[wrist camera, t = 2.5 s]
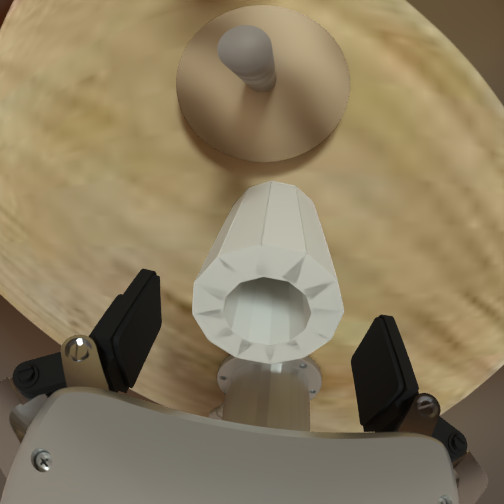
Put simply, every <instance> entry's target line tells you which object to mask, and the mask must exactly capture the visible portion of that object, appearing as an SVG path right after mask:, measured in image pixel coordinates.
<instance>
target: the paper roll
mask: <svg viewBox="0 0 504 504" xmlns="http://www.w3.org/2000/svg"><path fill="white" fill-rule="evenodd" d="M192 313H193V316H194V318H195V319H196V321H197V323H198V324H199V326H200V328H201V329H202V331H203V333H204V334H205V336H206V337H207V339H208V340H209V341H210V342H212V343H213V344H215V345H217V346H218V347H220V348H221V349H223V350H225V351H226V352H228V353H229V354H231V355H233V356H234V357H237V358H240V359H245V360H251V361H256V362H262V363H268V364H270V363H271V364H273V363H279V362H284V361H290V360H295V359H300V358H303V357H306V356H307V355H309V354H310V353H312V352H313V351H315V350H316V349H318V348H319V347H321V346H322V345H324V344H325V343H327V342H328V341H330V339H331V338H332V336H333V334H334V332H335V330H336V328H337V326H338V324H339V322H340V320H341V318H342V316H343V314H344V308H343V303H342V298H341V294H340V289H339V285H338V280H337V277H336V273H335V270H334V266H333V263H332V259H331V256H330V253H329V249H328V246H327V243H326V240H325V236H324V233H323V230H322V227H321V224H320V221H319V218H318V215H317V212H316V209H315V206H314V203H313V201H312V200H311V199H310V198H309V197H308V196H307V195H305V194H304V193H303V192H302V191H301V190H300V189H299V188H298V187H297V186H295V185H290V184H286V183H281V182H276V181H272V182H271V181H268V182H265V183H262V184H259V185H256V186H253V187H250V188H248V189H247V190H246V191H245V192H244V193H243V195H242V196H241V197H240V198H239V199H238V200H237V201H236V203H235V204H234V205H233V207H232V209H231V211H230V213H229V214H228V216H227V218H226V220H225V222H224V224H223V226H222V228H221V230H220V232H219V234H218V236H217V238H216V240H215V242H214V244H213V246H212V248H211V250H210V252H209V254H208V256H207V258H206V260H205V262H204V264H203V266H202V268H201V270H200V272H199V274H198V276H197V278H196V280H195V282H194V289H193V305H192Z"/></svg>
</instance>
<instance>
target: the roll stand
mask: <svg viewBox="0 0 504 504" xmlns="http://www.w3.org/2000/svg"><path fill="white" fill-rule="evenodd" d="M176 89H177V96H178V101H179V104H180V108H181V111H182V113H183V115H184V117H185V119H186V121H187V122H188V124H189V125H190V127H191V128H192V129H193V130H194V131H195V133H196V134H197V135H198V136H199V137H200V138H201V139H202V140H204V141H205V142H206V143H207V144H209V145H210V146H211V147H213V148H214V149H216V150H218V151H220V152H222V153H224V154H226V155H229V156H231V157H234V158H238V159H242V160H246V161H254V162H273V161H281V160H285V159H289V158H293V157H295V156H298V155H301V154H303V153H305V152H307V151H309V150H311V149H312V148H314V147H315V146H317V145H318V144H320V143H321V142H322V141H323V140H324V139H325V138H327V137H328V136H329V135H330V133H331V132H332V131H333V130H334V129H335V128H336V126H337V124H338V123H339V121H340V120H341V118H342V116H343V114H344V111H345V109H346V106H347V103H348V99H349V92H350V76H349V70H348V65H347V62H346V59H345V57H344V54H343V52H342V50H341V48H340V47H339V45H338V44H337V42H336V41H335V39H334V38H333V37H332V36H331V35H330V33H329V32H328V31H327V30H326V29H325V28H323V27H322V26H321V25H320V24H319V23H317V22H316V21H314V20H313V19H311V18H310V17H308V16H306V15H304V14H302V13H300V12H297V11H294V10H291V9H288V8H284V7H279V6H271V5H253V6H247V7H241V8H238V9H234V10H231V11H229V12H226V13H224V14H222V15H220V16H218V17H216V18H214V19H213V20H211V21H210V22H209V23H207V24H206V25H205V26H203V27H202V28H201V29H200V30H199V31H198V32H197V33H196V34H195V35H194V37H193V38H192V39H191V40H190V42H189V43H188V45H187V47H186V48H185V50H184V52H183V54H182V57H181V59H180V62H179V66H178V70H177V78H176Z"/></svg>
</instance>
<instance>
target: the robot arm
mask: <svg viewBox="0 0 504 504" xmlns="http://www.w3.org/2000/svg"><path fill="white" fill-rule="evenodd" d="M161 323H162V319H161V299H160V277H159V276H157V275H156V272H155V271H151V270H147V269H142V270H141V271H140V272H139V273H138V275H137V276H136V277H135V279H134V280H133V281H132V283H131V284H130V286H129V287H128V288H127V290H126V291H125V292H124V294H123V295H122V294H119V295H118V296H117V297H116V298H115V300H114V301H113V302H112V304H111V305H110V307H109V308H108V309H107V311H106V312H105V314H104V315H103V316H102V318H101V319H100V321H99V322H98V324H97V325H96V326H95V328H94V329H93V331H92V332H91V334H90V335H89V337H88V336H85V335H74V336H72V337H69V338H68V339H67V340H65V342H64V343H63V344H62V347H61V352H58V353H55V354H51V355H47V356H44V357H40V358H36V359H33V360H29V361H25V362H23V363H21V364H19V365H18V366H17V367H16V369H15V370H14V373H13V377H12V378H10V379H9V378H8V377H6V378H5V379H3V380H1V381H0V468H1V470H2V472H3V473H4V475H5V477H6V479H7V481H6V484H5V488H4V491H3V495H2V499H1V502H0V504H475V502H476V501H477V500H478V499H479V497H480V496H481V494H482V493H483V491H484V490H485V489H486V487H487V484H488V477H487V475H486V473H485V472H484V470H483V469H482V467H481V466H480V465H479V463H478V462H477V460H476V459H475V458H474V456H473V455H472V453H471V452H470V451H468V452H466V450H467V441H466V439H465V437H464V435H463V434H462V433H461V432H459V431H458V430H457V429H455V428H454V427H453V426H451V425H450V424H449V423H448V422H446V421H445V420H443V419H442V418H441V417H440V416H439V415H440V411H441V410H440V405H439V402H438V401H437V399H436V398H435V397H434V396H432V395H430V394H428V393H420V394H419V392H418V390H419V387H418V384H417V381H416V378H415V375H414V372H413V369H412V366H411V363H410V360H409V357H408V354H407V351H406V349H405V346H404V343H403V340H402V338H401V335H400V333H399V330H398V327H397V325H396V322H395V320H394V318H393V317H392V316H387V315H380V316H379V317H376V318H375V319H374V321H373V323H372V325H371V326H370V328H369V330H368V331H367V333H366V335H365V337H364V338H363V340H362V342H361V343H360V345H359V347H358V348H357V350H356V351H355V353H354V355H353V356H352V359H351V366H352V372H353V378H354V384H355V390H356V397H357V404H358V411H359V418H360V424H361V425H362V426H363V428H364V432H372V433H332V432H310V400H311V399H312V398H314V397H315V396H316V395H317V393H318V392H319V391H320V388H321V386H322V377H321V371H320V369H319V367H318V365H317V364H316V363H315V362H314V361H313V360H312V359H310V358H309V357H308V356H306V357H303V358H300V359H295V360H290V361H284V362H279V363H273V364H271V363H270V364H268V363H262V362H256V361H251V360H245V359H240V358H237V357H234V356H233V355H230V356H228V357H227V358H226V359H225V360H224V361H223V362H222V363H221V365H220V367H219V370H218V374H217V382H218V386H219V387H220V389H221V391H222V392H223V393H224V394H225V395H226V396H225V400H224V402H222V404H221V406H219V407H217V408H215V409H213V410H211V411H210V412H209V418H208V417H204V416H199V415H195V414H191V413H187V412H183V411H179V410H175V409H171V408H168V407H164V406H160V405H157V404H153V403H149V402H147V401H143V400H140V399H137V398H134V397H130V396H127V395H123V394H120V393H118V391H121V392H124V393H127V390H128V388H129V387H130V388H133V386H134V384H135V382H136V380H137V378H138V375H139V373H140V371H141V369H142V367H143V364H144V362H145V360H146V358H147V356H148V354H149V351H150V349H151V347H152V345H153V343H154V341H155V339H156V337H157V335H158V332H159V330H160V328H161ZM29 425H30V426H29ZM28 426H29V429H28V430H27V428H28ZM26 430H27V432H26ZM374 431H375V432H374Z"/></svg>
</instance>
